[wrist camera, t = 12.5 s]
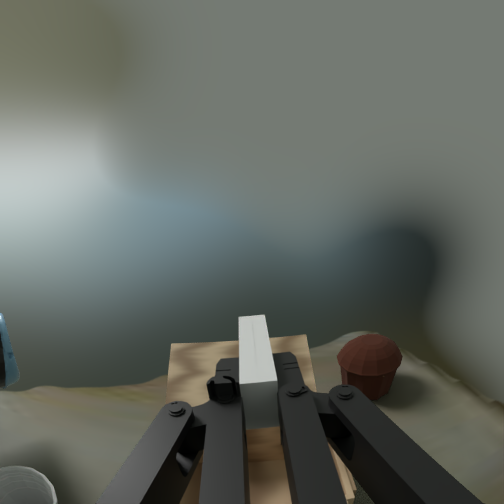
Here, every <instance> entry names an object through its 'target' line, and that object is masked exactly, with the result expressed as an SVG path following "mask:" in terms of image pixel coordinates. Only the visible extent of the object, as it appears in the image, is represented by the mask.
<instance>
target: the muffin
mask: <svg viewBox="0 0 504 504" xmlns="http://www.w3.org/2000/svg"><path fill="white" fill-rule="evenodd" d="M402 357H403V356H402V355H401V352H400V350H399V348H398V347H397V345H396V343H395V342H394V341H392V340H391V339H389V338H387V337H385V336H383V335H378V334H366V335H362V336H358V337H357V338H355V339H353V340H351V341H349V342H348V343H347V344H346V345H345V346H344V347H343V348H342V349H341V351H340V352H339V354H338V355H337V359H338V363H339V365H340V366H341V375H342V385H352V386H355V387H356V388H358V389H359V390H360V391H361V392H362V393H363V394H364V395H365V396H366V397H367V398H368V399H369V400H377V399H379V398H380V397H381V396H383V395H385V394H387V393H388V391H389V388H390V386H391V383H392V381H393V378H394V376H395V373H396V370H397V368H398V367H399V366H400V364H401V361H402Z"/></svg>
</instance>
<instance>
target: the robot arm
mask: <svg viewBox="0 0 504 504" xmlns="http://www.w3.org/2000/svg"><path fill="white" fill-rule="evenodd" d="M18 379H19V371H18V368H17V364H16V361H15V358H14V355H13V351H12V347H11V343H10V340H9V336H8V332H7V328H6V324H5V320H4V317H3V315H2V314H1V313H0V388H6V387H7V386H9V385H11V384H13V383H16V382H17V381H18ZM206 385H207V390H208V395H209V401H208V402H206V403H204V404H201V405H198V406H194V407H191V405H190V404H189V403H187V402H184V401H173V402H170V403H168V404H166V405H165V406H164V407H163V408H162V409H161V410H160V412H159V413H158V415H157V416H156V418H155V419H154V420H153V422H152V423H151V425H150V426H149V428H148V429H147V431H146V432H145V433H144V435H143V436H142V438H141V439H140V441H139V442H138V444H137V445H136V446H135V448H134V449H133V451H132V452H131V454H130V455H129V457H128V458H127V459H126V461H125V462H124V464H123V465H122V467H121V468H120V469H119V471H118V472H117V474H116V475H115V477H114V478H113V479H112V481H111V482H110V484H109V485H108V486H107V488H106V489H105V491H104V492H103V494H102V495H101V496H100V498H99V499H98V501H97V502H96V503H95V504H179V503H180V501H181V499H182V497H183V495H184V493H185V491H186V489H187V487H188V484H189V482H190V480H191V478H192V476H193V474H194V471H195V469H196V467H197V465H198V463H199V461H200V458H201V456H202V454H203V463H202V473H201V484H200V495H199V504H250V486H249V468H248V448H247V435H246V430H247V429H259V428H270V427H279V426H280V440H281V445H282V448H283V454H284V460H285V466H286V472H287V478H288V484H289V490H290V496H291V502H292V504H348V503H347V500H346V497H345V494H344V491H343V488H342V485H341V482H340V479H339V475H338V472H337V469H336V466H335V463H334V460H333V457H332V454H331V451H330V448H329V445H328V443H329V444H330V446H331V447H332V448H333V450H334V451H335V452H336V454H337V455H338V456H339V458H340V459H341V460H342V462H343V463H344V464H345V466H346V467H347V468H348V470H349V471H350V472H351V474H352V475H353V476H354V477H355V479H356V480H357V481H358V483H359V484H360V485H361V486H362V488H363V489H364V490H365V492H366V493H367V494H368V495H369V497H370V498H371V499H372V500H373V502H374V503H375V504H484V503H482V502H481V501H480V500H479V499H478V498H477V497H475V496H474V495H473V494H472V493H471V492H470V491H469V490H467V489H466V488H465V487H464V486H463V485H462V484H461V483H459V482H458V481H457V480H456V479H455V478H454V477H453V476H452V475H450V474H449V473H448V472H447V471H446V470H445V469H444V468H443V467H442V466H440V465H439V464H438V463H437V462H436V461H435V460H434V459H433V458H432V457H431V456H429V455H428V454H427V453H426V452H425V451H424V450H423V449H422V448H421V447H420V446H419V445H417V444H416V443H415V442H414V441H413V440H412V439H411V438H410V437H409V436H408V435H407V434H406V433H404V432H403V431H402V430H401V429H400V428H399V427H398V426H397V425H396V424H395V423H394V422H393V421H392V420H391V419H390V418H388V417H387V416H386V415H385V414H384V413H383V412H382V411H381V410H380V409H379V408H378V407H377V406H376V405H375V404H374V403H373V402H372V401H370V400H369V399H368V398H367V397H366V396H365V395H364V394H363V393H362V392H361V391H360V390H359V389H358V388H356V387H355V386H352V385H338V386H336V387H334V388H332V389H331V390H330V392H329V393H317V392H313V391H311V390H310V389H309V387H308V386H306V385H305V383H304V380H303V377H302V374H301V371H300V368H299V364H298V361H297V358H296V356H295V355H294V354H292V353H291V352H281V353H272V351H271V346H270V341H269V336H268V331H267V326H266V321H265V315H258V316H257V315H256V316H245V317H239V357H236V358H221V359H220V360H219V362H218V363H217V364H216V371H215V376H214V377H211V378H210V379H209V380H208V381H207V383H206ZM203 450H204V453H203Z"/></svg>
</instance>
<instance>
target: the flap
mask: <svg viewBox="0 0 504 504" xmlns="http://www.w3.org/2000/svg"><path fill="white" fill-rule="evenodd" d="M269 341H270V346H271V351H272V353H281V352H291V353H292V354H294V355H295V356H296V358H297V361H298V364H299V368H300V371H301V374H302V377H303V380H304V383H305V385H306V386H308V387H309V389H310V390H311V391H313V392H317V391H316V385H315V380H314V374H313V369H312V364H311V358H310V353H309V348H308V343H307V338H306V335H297V336H288V337H278V338H269ZM236 357H239V341H227V342H207V343H183V344H182V343H180V344H171V354H170V362H169V372H168V382H167V393H166V404H168V403H170V402H173V401H184V402H187V403H189V404H190V405H191V407H194V406H198V405H201V404H204V403H206V402H208V401H209V395H208V390H207V385H206V383H207V381H208V380H209V379H210V378H211V377H214V376H215V371H216V364H217V363H218V362H219V360H220V359H221V358H236Z"/></svg>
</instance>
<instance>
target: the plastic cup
mask: <svg viewBox="0 0 504 504" xmlns="http://www.w3.org/2000/svg"><path fill="white" fill-rule="evenodd" d="M0 504H58V501H57V498H56V494H55V490H54V486H53V485H52V484H51V483H50V481H49V480H48V479H47V478H46V476H45V475H44V474H42V473H40V472H38V471H36V470H35V469H33V468H30V467H24V466H19V465H15V466H7V467H2V468H0Z"/></svg>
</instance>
